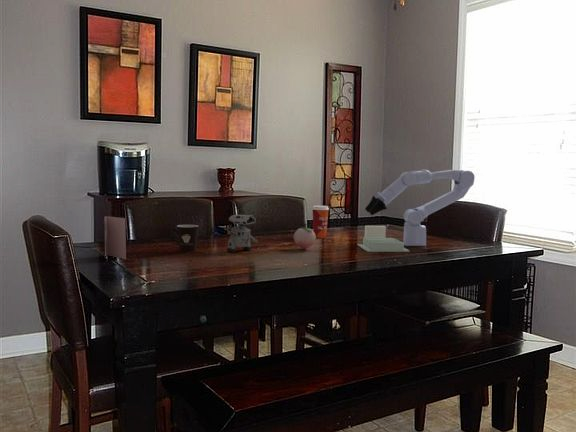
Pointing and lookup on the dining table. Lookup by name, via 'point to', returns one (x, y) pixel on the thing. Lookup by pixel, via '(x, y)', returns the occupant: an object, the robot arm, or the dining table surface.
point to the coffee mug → (186, 237)
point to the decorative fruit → (304, 237)
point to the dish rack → (383, 245)
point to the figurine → (240, 232)
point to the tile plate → (375, 231)
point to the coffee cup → (320, 221)
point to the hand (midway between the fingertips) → (368, 212)
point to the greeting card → (115, 237)
